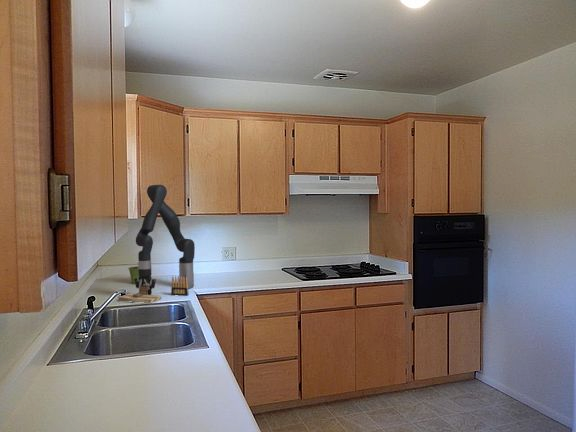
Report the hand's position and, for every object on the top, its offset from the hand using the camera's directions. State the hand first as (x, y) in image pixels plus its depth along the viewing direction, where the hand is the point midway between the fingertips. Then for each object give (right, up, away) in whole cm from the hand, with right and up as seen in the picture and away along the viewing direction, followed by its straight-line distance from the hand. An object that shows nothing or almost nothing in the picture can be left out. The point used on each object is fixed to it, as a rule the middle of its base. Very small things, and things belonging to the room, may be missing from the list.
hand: (145, 295), depth 242 cm
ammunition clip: (+19, -1, +6) cm, 20 cm away
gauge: (-1, -2, -4) cm, 4 cm away
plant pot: (-21, 0, +41) cm, 46 cm away
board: (-1, -2, -7) cm, 7 cm away
